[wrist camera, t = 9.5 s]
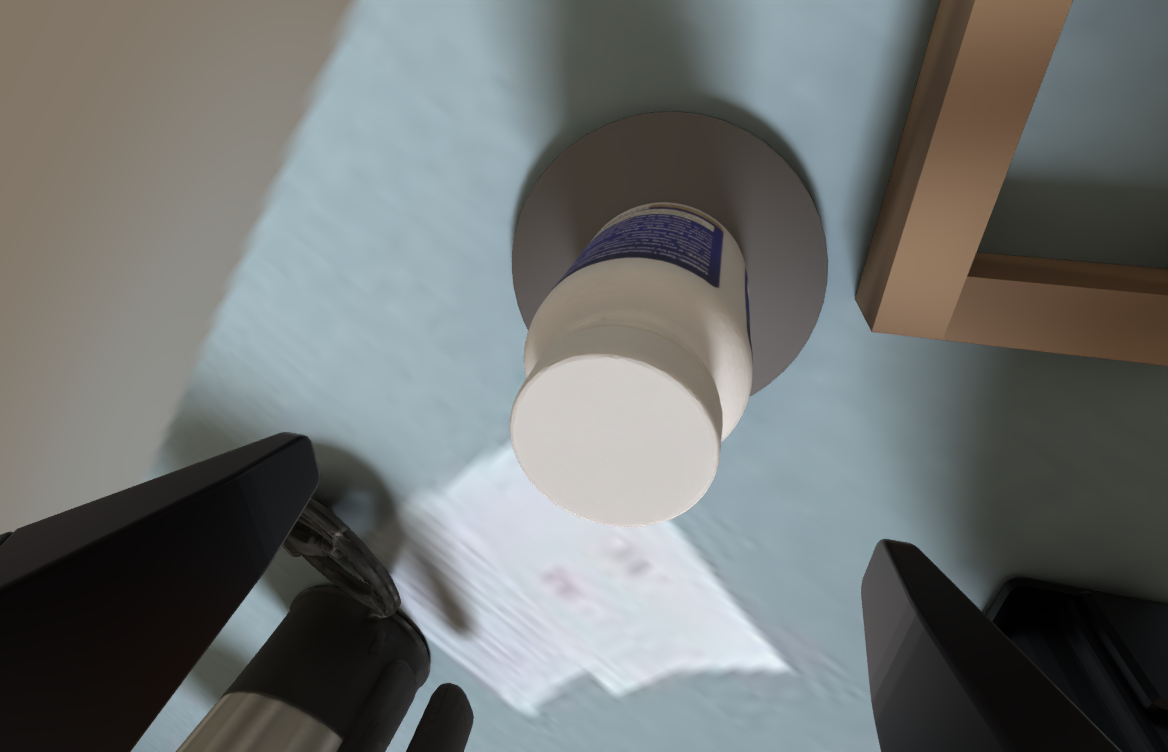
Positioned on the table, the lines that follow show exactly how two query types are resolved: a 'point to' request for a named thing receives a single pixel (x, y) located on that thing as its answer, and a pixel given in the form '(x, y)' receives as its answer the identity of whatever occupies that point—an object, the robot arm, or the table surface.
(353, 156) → the table surface
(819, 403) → the table surface
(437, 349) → the table surface
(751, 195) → the mat
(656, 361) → the pill bottle
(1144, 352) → the collar block
